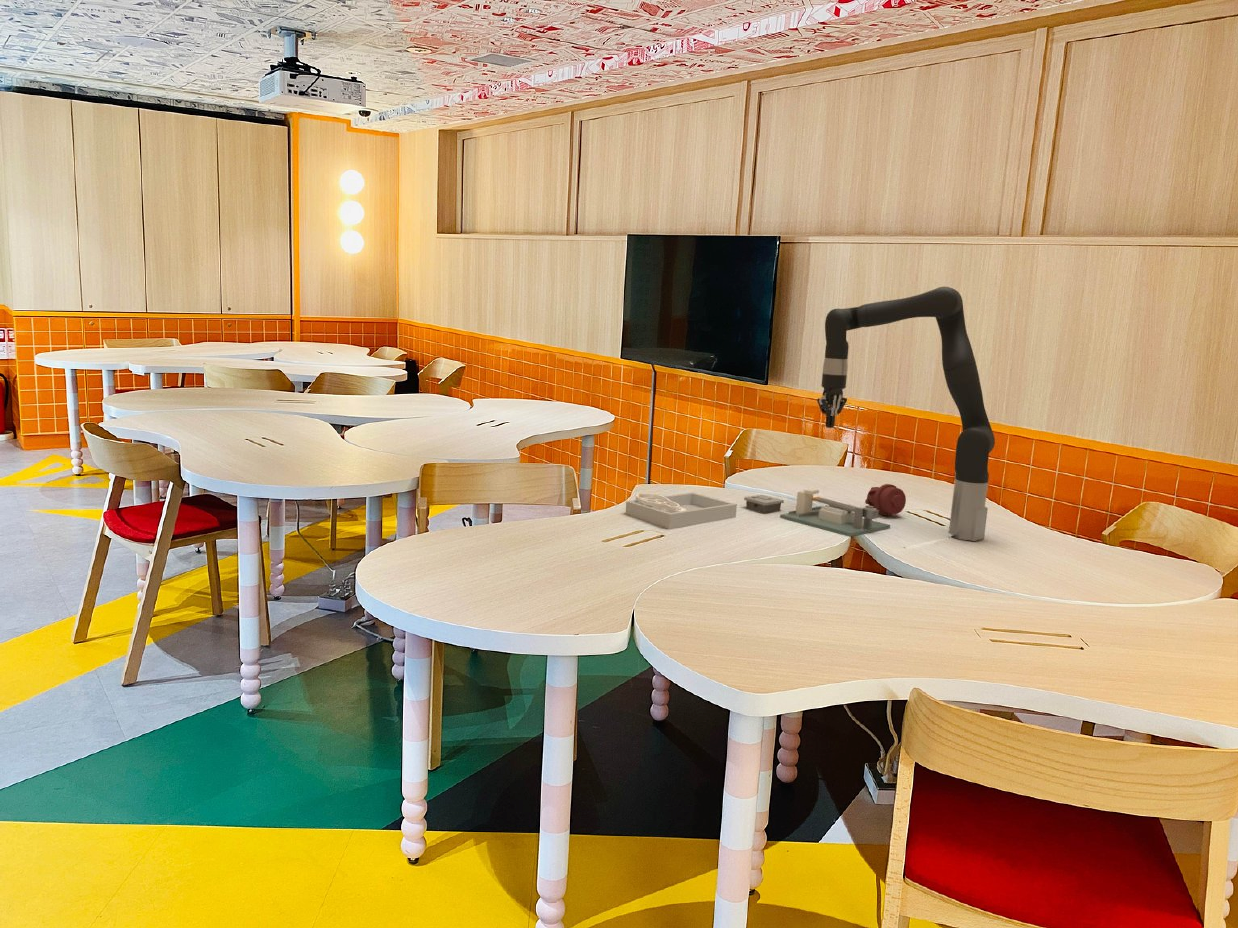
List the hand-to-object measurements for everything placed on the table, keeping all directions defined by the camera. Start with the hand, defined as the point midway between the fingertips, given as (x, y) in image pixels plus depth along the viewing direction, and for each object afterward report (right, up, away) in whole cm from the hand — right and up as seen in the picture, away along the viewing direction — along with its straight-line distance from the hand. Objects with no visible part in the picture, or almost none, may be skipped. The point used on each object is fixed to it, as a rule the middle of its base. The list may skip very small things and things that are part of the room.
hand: (829, 427), depth 297 cm
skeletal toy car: (-55, -30, -18) cm, 65 cm away
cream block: (-10, -27, -6) cm, 29 cm away
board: (-1, -30, -12) cm, 32 cm away
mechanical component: (+18, -28, +3) cm, 34 cm away
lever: (+1, -25, -15) cm, 30 cm away
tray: (-48, -28, -15) cm, 57 cm away
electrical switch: (-24, -27, -3) cm, 36 cm away
